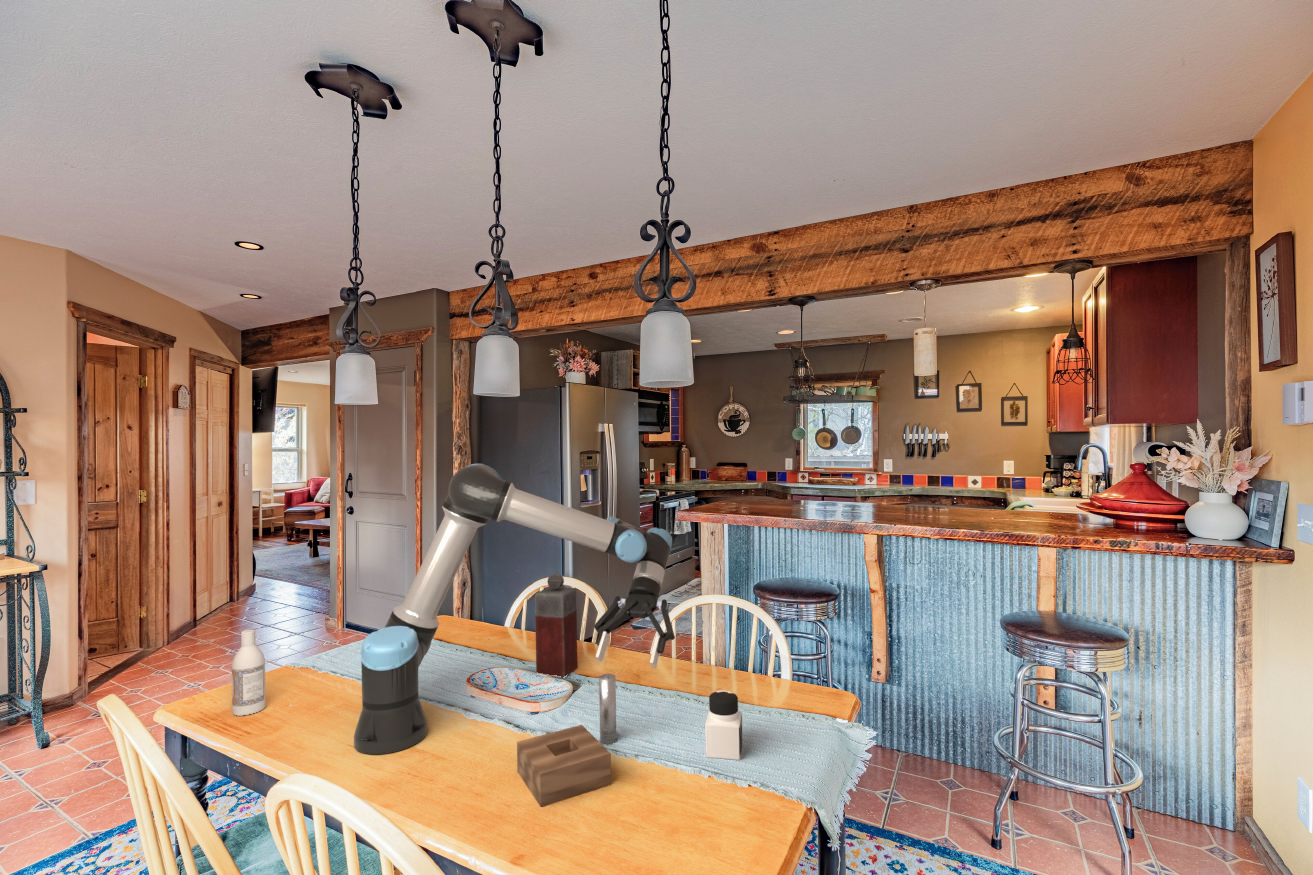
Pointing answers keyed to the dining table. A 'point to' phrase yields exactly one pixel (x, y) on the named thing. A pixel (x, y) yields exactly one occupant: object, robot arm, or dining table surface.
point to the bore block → (563, 764)
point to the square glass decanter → (556, 628)
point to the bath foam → (248, 677)
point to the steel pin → (607, 708)
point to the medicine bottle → (723, 726)
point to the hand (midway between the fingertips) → (625, 662)
